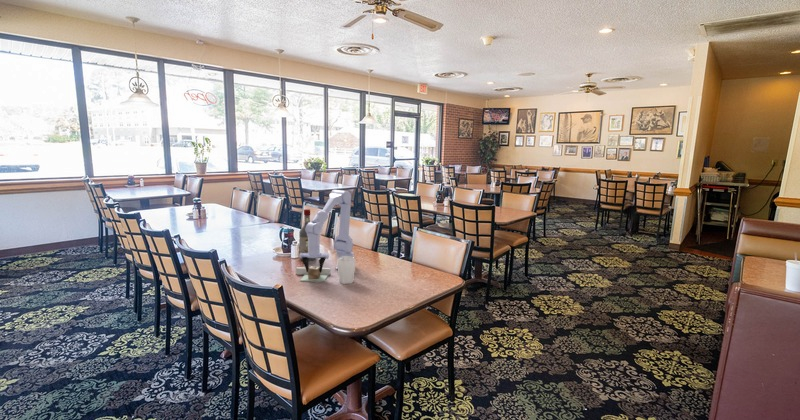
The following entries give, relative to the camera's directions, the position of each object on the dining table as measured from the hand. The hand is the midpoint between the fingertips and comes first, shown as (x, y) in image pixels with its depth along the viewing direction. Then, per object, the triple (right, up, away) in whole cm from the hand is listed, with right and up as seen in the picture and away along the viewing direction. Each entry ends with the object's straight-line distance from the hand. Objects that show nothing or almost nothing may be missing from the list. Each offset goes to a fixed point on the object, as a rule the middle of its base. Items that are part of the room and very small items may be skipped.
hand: (314, 271), depth 193 cm
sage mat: (0, -4, +1) cm, 4 cm away
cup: (+17, -5, -3) cm, 18 cm away
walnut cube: (0, -3, +1) cm, 3 cm away
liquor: (-12, +2, +36) cm, 38 cm away
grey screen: (-2, -3, +7) cm, 8 cm away
